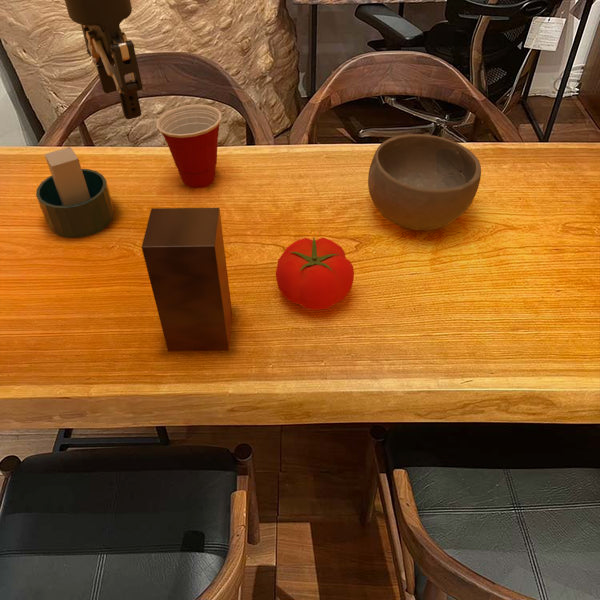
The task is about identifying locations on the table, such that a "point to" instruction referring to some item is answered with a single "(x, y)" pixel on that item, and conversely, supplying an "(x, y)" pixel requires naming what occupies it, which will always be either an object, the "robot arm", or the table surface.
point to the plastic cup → (192, 142)
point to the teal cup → (77, 208)
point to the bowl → (423, 180)
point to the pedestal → (189, 277)
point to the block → (68, 176)
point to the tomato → (314, 273)
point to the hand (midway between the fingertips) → (121, 103)
